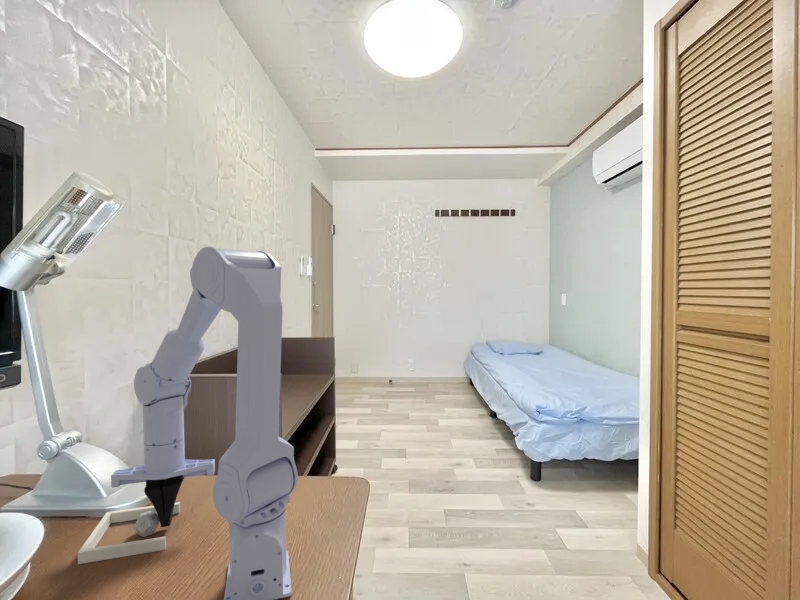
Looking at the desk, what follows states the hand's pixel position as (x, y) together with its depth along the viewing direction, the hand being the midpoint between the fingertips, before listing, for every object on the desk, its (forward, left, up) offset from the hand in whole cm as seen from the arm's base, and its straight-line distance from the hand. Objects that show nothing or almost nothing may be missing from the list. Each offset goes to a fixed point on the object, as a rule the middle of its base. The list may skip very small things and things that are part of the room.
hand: (166, 523), depth 70 cm
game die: (0, +3, -1) cm, 3 cm away
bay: (0, +4, -1) cm, 4 cm away
